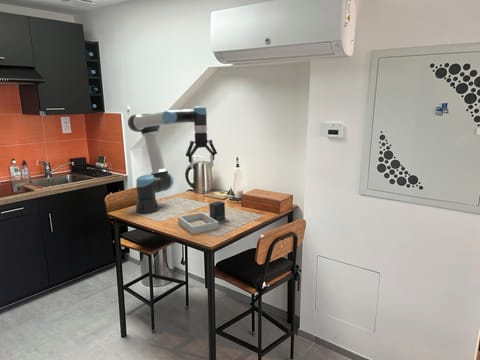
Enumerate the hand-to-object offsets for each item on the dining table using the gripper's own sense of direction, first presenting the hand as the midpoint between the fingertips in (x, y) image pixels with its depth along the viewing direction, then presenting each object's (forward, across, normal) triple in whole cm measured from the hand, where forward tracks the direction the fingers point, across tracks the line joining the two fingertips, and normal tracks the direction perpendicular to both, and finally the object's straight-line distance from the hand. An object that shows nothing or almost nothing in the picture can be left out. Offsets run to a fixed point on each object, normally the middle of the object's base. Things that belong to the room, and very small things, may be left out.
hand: (202, 166), depth 216 cm
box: (+31, +3, -14) cm, 34 cm away
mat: (+32, +3, -14) cm, 35 cm away
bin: (+32, -11, -16) cm, 37 cm away
